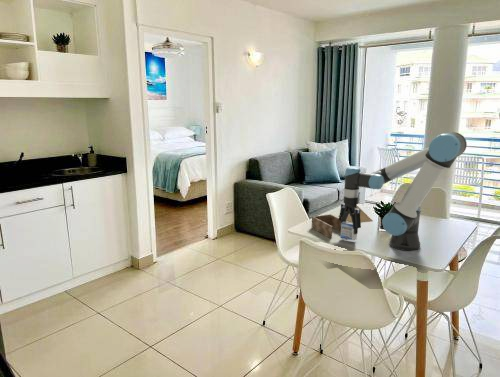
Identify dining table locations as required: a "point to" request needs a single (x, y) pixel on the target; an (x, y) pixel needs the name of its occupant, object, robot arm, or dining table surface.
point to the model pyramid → (362, 217)
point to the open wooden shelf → (326, 224)
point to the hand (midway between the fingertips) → (348, 236)
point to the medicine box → (346, 230)
